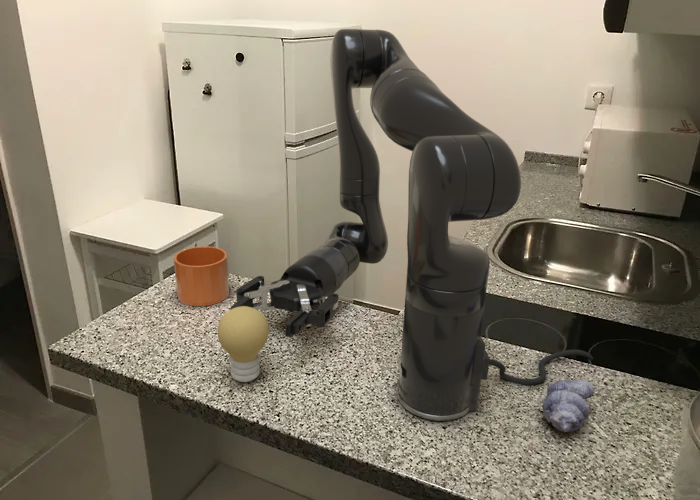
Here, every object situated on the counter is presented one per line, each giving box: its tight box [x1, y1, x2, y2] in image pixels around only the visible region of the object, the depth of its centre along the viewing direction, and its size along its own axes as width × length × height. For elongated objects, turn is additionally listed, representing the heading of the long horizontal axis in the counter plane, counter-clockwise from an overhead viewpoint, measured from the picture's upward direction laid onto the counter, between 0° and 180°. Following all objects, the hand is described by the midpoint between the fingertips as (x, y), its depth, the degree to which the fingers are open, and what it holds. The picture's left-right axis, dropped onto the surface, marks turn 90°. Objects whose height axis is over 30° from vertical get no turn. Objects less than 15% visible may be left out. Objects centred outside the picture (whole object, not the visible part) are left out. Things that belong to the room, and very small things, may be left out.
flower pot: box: [173, 245, 230, 307], centre depth 97 cm, size 8×8×7 cm
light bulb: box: [216, 306, 270, 383], centre depth 75 cm, size 6×6×10 cm
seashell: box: [542, 379, 595, 433], centre depth 70 cm, size 5×5×10 cm
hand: (260, 323), depth 78 cm, fingers open, 8 cm apart
